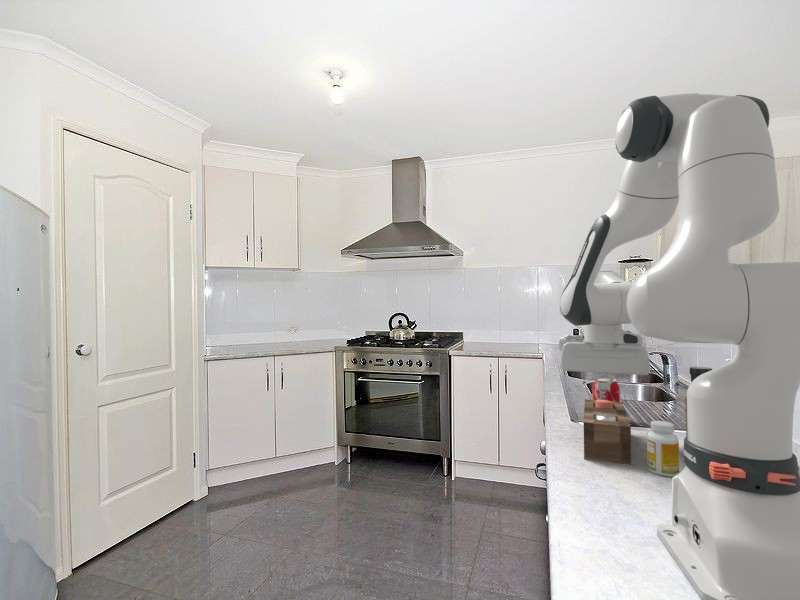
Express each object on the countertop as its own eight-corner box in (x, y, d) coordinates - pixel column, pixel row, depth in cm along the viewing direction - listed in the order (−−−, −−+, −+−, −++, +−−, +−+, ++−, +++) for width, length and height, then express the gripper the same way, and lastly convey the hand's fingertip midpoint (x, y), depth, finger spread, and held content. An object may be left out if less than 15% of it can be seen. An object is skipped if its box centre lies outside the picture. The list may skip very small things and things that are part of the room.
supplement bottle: (682, 472, 82) (682, 423, 82) (674, 479, 78) (673, 428, 78) (652, 464, 86) (652, 418, 86) (643, 471, 82) (642, 422, 82)
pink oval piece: (613, 432, 101) (613, 404, 101) (595, 430, 103) (595, 402, 103) (612, 428, 104) (612, 400, 105) (595, 426, 106) (595, 399, 106)
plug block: (631, 465, 85) (630, 427, 85) (584, 459, 89) (583, 422, 89) (622, 433, 107) (622, 402, 107) (585, 428, 111) (584, 399, 111)
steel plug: (616, 451, 90) (616, 419, 90) (596, 449, 92) (596, 417, 92) (615, 446, 94) (615, 415, 94) (596, 443, 95) (595, 413, 95)
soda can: (588, 420, 119) (587, 379, 119) (600, 416, 123) (599, 376, 124) (613, 425, 114) (612, 382, 114) (624, 421, 118) (624, 379, 118)
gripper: (558, 335, 105) (558, 389, 105) (650, 337, 97) (651, 396, 96) (559, 334, 111) (560, 385, 111) (647, 336, 102) (648, 391, 102)
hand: (603, 390), depth 103 cm, fingers closed
